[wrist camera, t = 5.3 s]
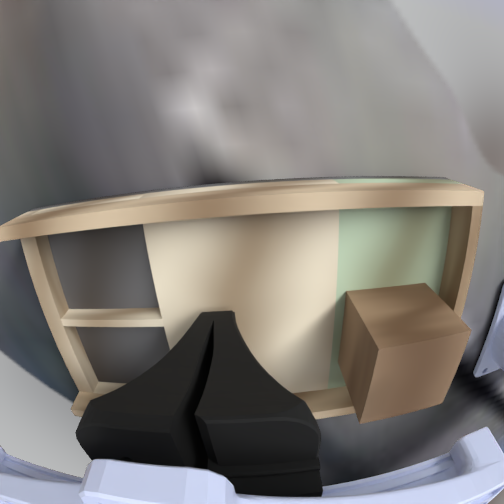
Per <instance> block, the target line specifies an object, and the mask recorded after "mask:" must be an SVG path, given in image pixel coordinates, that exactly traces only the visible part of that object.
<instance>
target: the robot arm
mask: <svg viewBox="0 0 504 504" xmlns="http://www.w3.org/2000/svg"><path fill="white" fill-rule="evenodd" d="M500 368H501V369H502V370H503V372H504V285H503V288H502V291H501V295H500V298H499V302H498V305H497V308H496V312H495V315H494V318H493V321H492V324H491V327H490V330H489V333H488V336H487V338H486V341H485V344H484V346H483V349H482V352H481V354H480V357H479V359H478V362H477V364H476V366H475V369H474V371H473V374H474V376H475V377H480V376H482V375H485V374H488V373H490V372H493V371H495V370H498V369H500ZM76 437H77V440H78V441H79V443H80V445H81V447H82V448H83V449H84V450H85V452H86V453H87V455H88V456H89V457H90V458H91V460H92V461H91V462H90V463H89V464H88V466H87V469H86V471H85V474H84V478H80V477H76V476H72V475H69V474H65V473H61V472H58V471H54V470H51V469H48V468H45V467H41V466H38V465H35V464H32V463H30V462H27V461H24V460H21V459H18V458H16V457H13V456H11V455H8V454H6V452H5V451H4V449H3V448H2V447H1V446H0V504H487V503H488V502H490V501H491V500H492V499H493V498H494V497H495V496H496V495H497V494H498V493H499V492H500V491H501V490H503V489H504V453H503V452H502V450H501V448H500V447H499V445H498V443H497V442H496V440H495V438H494V437H493V435H492V433H491V432H490V430H489V429H488V427H484V428H481V429H479V430H477V431H475V432H472V433H470V434H468V435H465V436H463V437H462V438H460V439H459V440H458V441H456V443H455V444H454V445H453V447H452V448H451V450H450V452H449V453H446V454H444V455H441V456H438V457H436V458H433V459H430V460H427V461H424V462H421V463H418V464H415V465H412V466H409V467H406V468H402V469H399V470H396V471H392V472H389V473H385V474H381V475H377V476H373V477H369V478H365V479H360V480H356V481H351V482H346V483H341V484H336V485H330V486H324V487H322V482H321V477H320V472H319V470H320V463H319V459H318V455H319V449H320V443H321V433H320V429H319V427H318V424H317V422H316V420H315V418H314V416H313V414H312V412H311V410H310V409H309V407H308V405H307V404H306V402H305V401H304V400H302V399H301V398H299V397H297V396H296V395H294V394H293V393H291V392H290V391H288V390H287V389H286V388H284V387H283V386H282V385H281V384H279V383H278V382H277V381H276V380H275V379H274V378H273V377H272V376H271V375H270V374H269V373H268V372H267V371H266V370H265V369H264V368H263V367H262V366H261V365H260V363H259V362H258V361H257V360H256V358H255V357H254V356H253V354H252V353H251V351H250V350H249V348H248V346H247V345H246V343H245V341H244V339H243V337H242V335H241V333H240V331H239V329H238V326H237V323H236V318H235V312H233V311H232V310H230V311H212V312H201V313H200V314H199V316H198V317H197V318H196V320H195V321H194V323H193V324H192V325H191V326H190V328H189V329H188V330H187V332H186V333H185V334H184V335H183V337H182V338H181V339H180V340H179V341H178V342H177V344H176V345H175V346H174V347H173V348H172V349H171V350H170V351H169V352H168V353H167V354H166V355H165V356H164V357H163V358H162V359H161V360H160V361H158V362H157V363H156V364H155V365H154V366H152V367H151V368H150V369H148V370H147V371H145V372H144V373H143V374H141V375H140V376H138V377H137V378H135V379H134V380H132V381H130V382H129V383H127V384H125V385H123V386H121V387H120V388H118V389H116V390H114V391H112V392H109V393H107V394H104V395H102V396H100V397H97V398H95V399H92V400H90V402H89V403H88V405H87V407H86V409H85V411H84V413H83V416H82V419H81V421H80V423H79V426H78V428H77V430H76Z"/></svg>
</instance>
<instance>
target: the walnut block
mask: <svg viewBox="0 0 504 504" xmlns="http://www.w3.org/2000/svg"><path fill="white" fill-rule="evenodd" d="M470 333H471V329H470V328H469V327H468V326H467V325H466V324H465V323H464V322H463V321H462V320H461V318H460V317H459V316H458V315H457V314H456V313H455V312H454V311H453V310H452V309H451V308H450V307H449V306H448V305H447V304H446V303H445V302H444V301H443V300H442V299H441V298H440V297H439V296H438V295H437V294H436V293H435V292H434V291H433V290H432V289H431V288H430V287H429V286H428V285H427V284H426V283H418V284H409V285H401V286H391V287H382V288H372V289H362V290H351V291H346V296H345V306H344V316H343V325H342V334H341V342H340V350H339V357H338V364H339V367H340V370H341V372H342V375H343V378H344V381H345V384H346V386H347V389H348V392H349V395H350V398H351V400H352V403H353V406H354V409H355V412H356V415H357V418H358V421H359V424H361V423H366V422H371V421H376V420H381V419H385V418H390V417H394V416H398V415H402V414H406V413H410V412H414V411H418V410H421V409H425V408H428V407H432V406H435V405H438V404H442V402H443V400H444V398H445V396H446V394H447V391H448V389H449V387H450V385H451V382H452V380H453V378H454V375H455V373H456V371H457V368H458V366H459V363H460V361H461V358H462V355H463V353H464V350H465V347H466V345H467V342H468V339H469V336H470Z"/></svg>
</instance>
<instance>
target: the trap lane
mask: <svg viewBox="0 0 504 504" xmlns="http://www.w3.org/2000/svg"><path fill="white" fill-rule="evenodd" d="M483 198H484V191H482V190H479V189H476V188H473V187H471V186H468V185H465V184H462V183H459V182H456V181H453V180H450V179H447V178H443V177H400V176H363V177H318V178H294V179H275V180H258V181H244V182H231V183H219V184H207V185H197V186H187V187H177V188H168V189H160V190H151V191H143V192H135V193H128V194H120V195H113V196H107V197H100V198H93V199H87V200H81V201H75V202H69V203H63V204H57V205H52V206H46V207H41V208H36V209H32V210H30V211H28V212H26V213H24V214H22V215H20V216H18V217H16V218H15V219H13V220H11V221H9V222H7V223H5V224H3V225H1V226H0V242H1V241H7V240H14V239H21V243H22V247H23V251H24V254H25V258H26V261H27V265H28V268H29V271H30V274H31V278H32V281H33V284H34V287H35V290H36V293H37V296H38V298H39V301H40V304H41V307H42V309H43V312H44V315H45V317H46V320H47V322H48V325H49V327H50V330H51V332H52V335H53V337H54V339H55V342H56V344H57V346H58V348H59V351H60V353H61V355H62V357H63V359H64V362H65V364H66V366H67V368H68V370H69V372H70V374H71V376H72V378H73V380H74V382H75V384H76V386H77V388H78V390H79V393H78V395H77V397H76V399H75V401H74V403H73V405H72V407H71V410H72V412H73V414H74V415H75V416H79V417H82V416H83V413H84V411H85V409H86V407H87V405H88V403H89V402H90V400H92V399H95V398H97V397H100V396H102V395H104V394H107V393H109V392H112V391H114V390H116V389H118V388H120V387H121V386H123V385H125V384H127V383H129V382H130V381H132V380H134V379H135V378H137V377H138V376H140V375H141V374H143V373H144V372H145V371H147V370H148V369H150V368H151V367H152V366H154V365H155V364H156V363H157V362H158V361H160V360H161V359H162V358H163V357H164V356H165V355H166V354H167V353H168V352H169V351H170V350H171V349H172V348H173V347H174V346H175V345H176V344H177V342H178V341H179V340H180V339H181V338H182V337H183V335H184V334H185V333H186V332H187V330H188V329H189V328H190V326H191V325H192V324H193V323H194V321H195V320H196V318H197V317H198V316H199V314H200V313H201V312H212V311H230V310H232V311H233V312H235V318H236V323H237V326H238V329H239V331H240V333H241V335H242V337H243V339H244V341H245V343H246V345H247V346H248V348H249V350H250V351H251V353H252V354H253V356H254V357H255V358H256V360H257V361H258V362H259V363H260V365H261V366H262V367H263V368H264V369H265V370H266V371H267V372H268V373H269V374H270V375H271V376H272V377H273V378H274V379H275V380H276V381H277V382H278V383H279V384H281V385H282V386H283V387H284V388H286V389H287V390H288V391H290V392H291V393H293V394H294V395H296V396H297V397H299V398H301V399H302V400H304V401H305V402H306V404H307V405H308V407H309V409H310V410H311V412H312V414H313V416H314V418H315V419H321V418H328V417H334V416H340V415H346V414H352V413H356V412H355V409H354V406H353V403H352V400H351V398H350V395H349V392H348V389H347V386H346V384H345V381H344V378H343V375H342V372H341V370H340V367H339V364H338V357H339V350H340V342H341V334H342V325H343V316H344V306H345V296H346V291H351V290H362V289H372V288H382V287H391V286H401V285H409V284H418V283H426V284H427V285H428V286H429V287H430V288H431V289H432V290H433V291H434V292H435V293H436V294H437V295H438V296H439V297H440V298H441V299H442V300H443V301H444V302H445V303H446V304H447V305H448V306H449V307H450V308H451V309H452V310H453V311H454V312H455V313H456V314H457V315H458V316H459V317H460V318H461V316H462V312H463V308H464V304H465V301H466V297H467V293H468V288H469V284H470V280H471V275H472V270H473V266H474V261H475V255H476V250H477V244H478V238H479V231H480V224H481V216H482V208H483Z"/></svg>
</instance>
